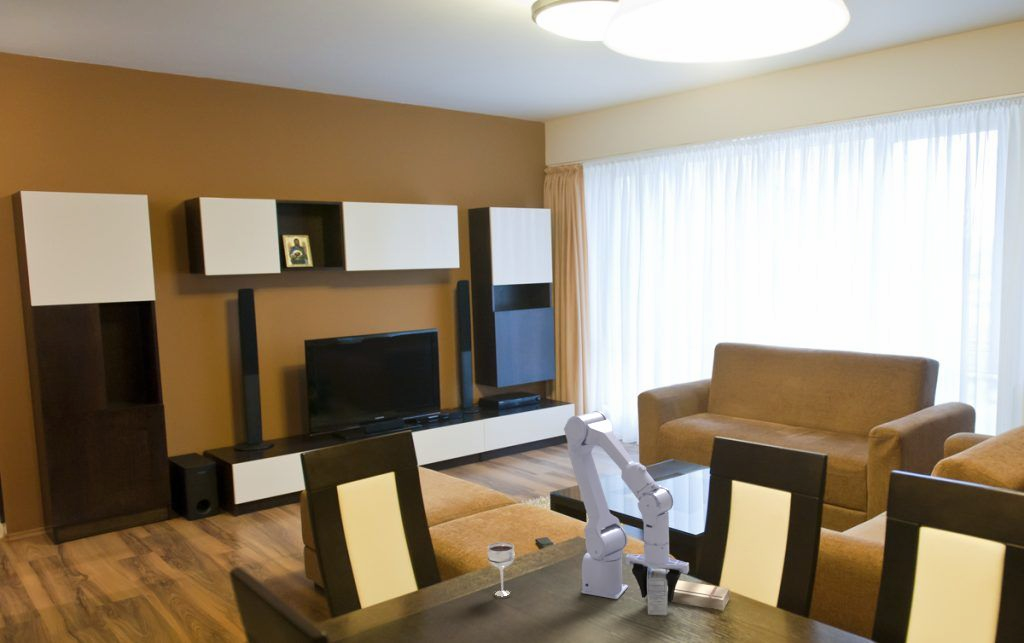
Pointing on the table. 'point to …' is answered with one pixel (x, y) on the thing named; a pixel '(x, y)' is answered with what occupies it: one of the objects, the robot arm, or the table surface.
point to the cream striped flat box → (700, 595)
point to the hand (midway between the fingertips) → (657, 598)
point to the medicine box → (657, 591)
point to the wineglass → (501, 560)
